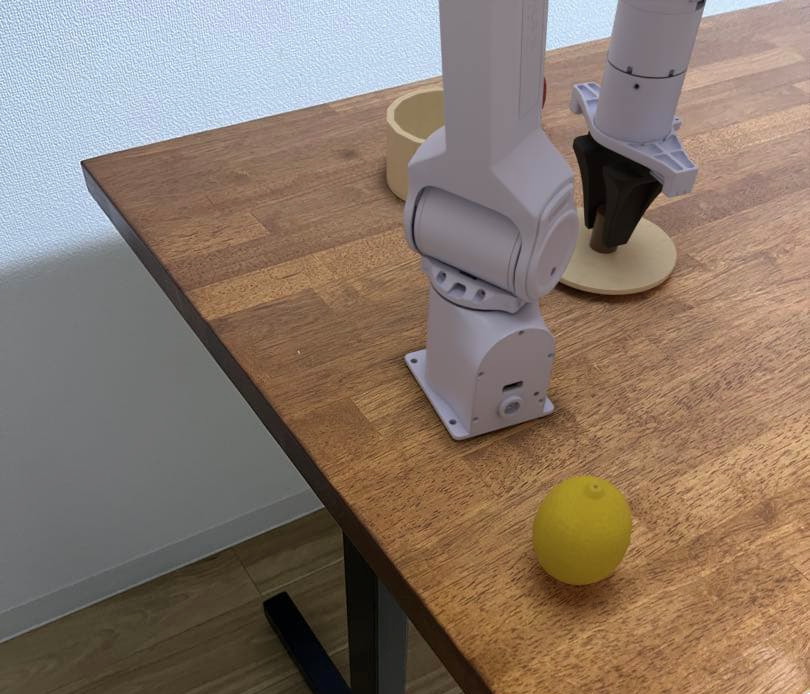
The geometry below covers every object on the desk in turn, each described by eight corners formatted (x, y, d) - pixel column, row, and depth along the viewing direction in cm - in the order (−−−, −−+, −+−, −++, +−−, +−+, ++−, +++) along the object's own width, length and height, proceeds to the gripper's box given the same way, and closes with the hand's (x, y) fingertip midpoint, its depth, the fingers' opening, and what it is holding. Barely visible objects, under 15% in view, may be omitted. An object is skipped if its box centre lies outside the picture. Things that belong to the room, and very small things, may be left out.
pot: (525, 197, 76) (535, 133, 71) (414, 221, 73) (416, 156, 68) (473, 141, 82) (479, 79, 78) (369, 161, 79) (368, 98, 75)
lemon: (611, 617, 48) (646, 534, 41) (518, 600, 48) (539, 516, 42) (615, 544, 51) (648, 457, 45) (528, 529, 52) (548, 442, 45)
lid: (702, 281, 68) (719, 235, 65) (574, 315, 65) (584, 268, 61) (623, 206, 75) (635, 161, 71) (504, 233, 72) (510, 187, 68)
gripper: (757, 96, 54) (695, 271, 65) (639, 14, 62) (602, 183, 73) (668, 113, 52) (620, 291, 63) (559, 27, 61) (533, 198, 71)
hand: (605, 234), depth 68 cm, fingers closed on lid, 2 cm apart
